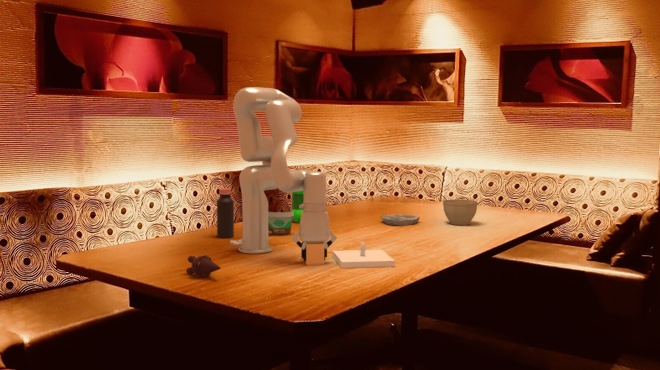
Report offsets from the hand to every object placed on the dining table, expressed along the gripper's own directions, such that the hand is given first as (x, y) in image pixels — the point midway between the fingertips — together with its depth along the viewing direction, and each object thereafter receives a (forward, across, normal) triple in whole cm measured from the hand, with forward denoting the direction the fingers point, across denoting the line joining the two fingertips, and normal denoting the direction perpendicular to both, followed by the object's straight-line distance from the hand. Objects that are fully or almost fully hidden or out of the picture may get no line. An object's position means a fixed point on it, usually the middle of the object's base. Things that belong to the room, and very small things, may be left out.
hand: (314, 259), depth 219 cm
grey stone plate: (+2, +51, +77) cm, 92 cm away
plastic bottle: (+1, +5, +84) cm, 84 cm away
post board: (+1, +17, 0) cm, 17 cm away
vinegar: (+1, -30, +50) cm, 58 cm away
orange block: (+1, 0, 0) cm, 1 cm away
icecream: (+1, -37, -15) cm, 40 cm away
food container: (+1, -7, +52) cm, 53 cm away
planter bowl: (+1, +79, +71) cm, 106 cm away
